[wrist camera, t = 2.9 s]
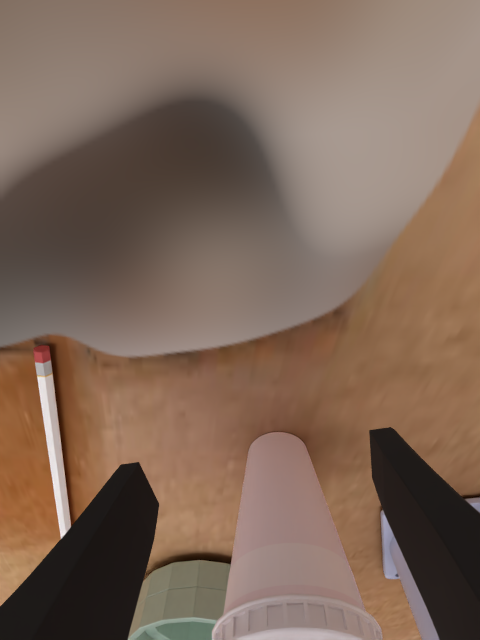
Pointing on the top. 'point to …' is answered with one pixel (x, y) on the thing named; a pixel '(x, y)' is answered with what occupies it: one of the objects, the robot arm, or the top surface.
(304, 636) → the smoothie
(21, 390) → the top surface
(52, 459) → the pencil
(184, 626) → the lid
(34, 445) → the top surface
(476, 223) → the top surface
